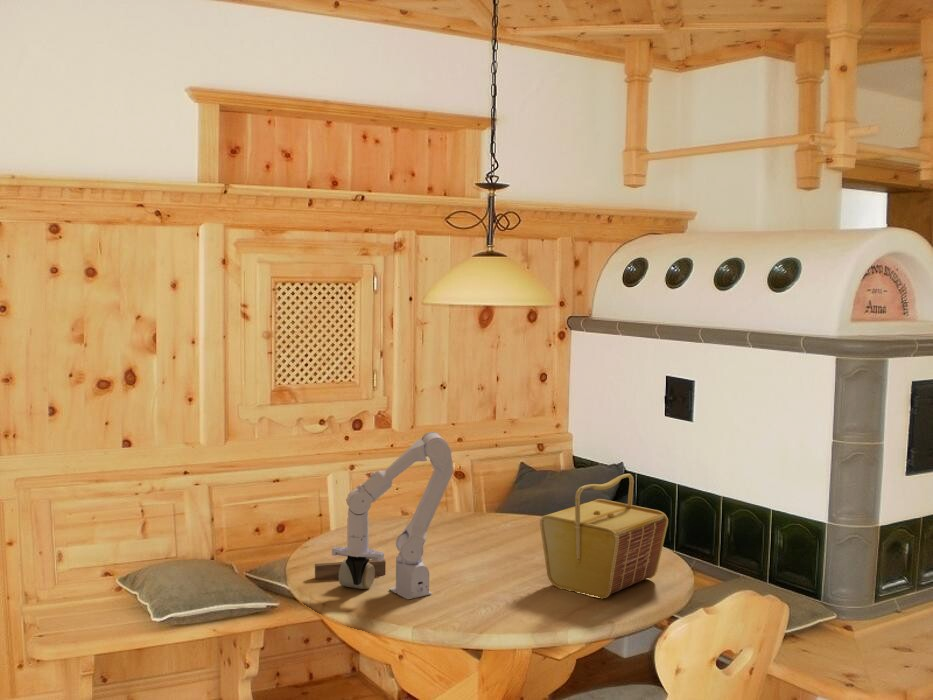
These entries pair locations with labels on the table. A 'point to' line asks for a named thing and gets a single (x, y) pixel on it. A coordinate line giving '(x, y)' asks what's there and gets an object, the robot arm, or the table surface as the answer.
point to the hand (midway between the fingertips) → (357, 583)
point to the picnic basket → (602, 543)
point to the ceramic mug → (347, 580)
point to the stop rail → (333, 568)
